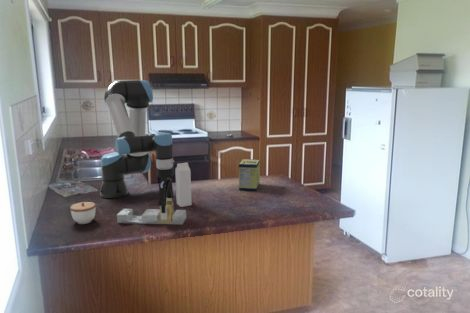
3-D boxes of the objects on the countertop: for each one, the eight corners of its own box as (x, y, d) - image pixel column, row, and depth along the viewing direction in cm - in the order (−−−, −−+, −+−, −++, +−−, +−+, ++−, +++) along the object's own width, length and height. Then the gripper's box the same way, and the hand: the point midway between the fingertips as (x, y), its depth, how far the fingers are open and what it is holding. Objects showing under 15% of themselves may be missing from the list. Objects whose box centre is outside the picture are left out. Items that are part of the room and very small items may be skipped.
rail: (117, 223, 173) (116, 214, 172) (123, 216, 180) (123, 208, 180) (182, 224, 170) (182, 216, 170) (186, 218, 178) (186, 209, 177)
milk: (191, 205, 196) (190, 163, 191) (180, 207, 193) (179, 165, 189) (187, 201, 201) (186, 161, 197) (176, 203, 198) (174, 162, 194)
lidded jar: (76, 217, 180) (74, 198, 178) (99, 216, 181) (97, 198, 179) (68, 226, 169) (66, 206, 167) (93, 225, 170) (91, 205, 168)
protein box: (259, 183, 234) (259, 159, 231) (256, 191, 219) (256, 165, 216) (242, 183, 236) (242, 158, 233) (238, 190, 221) (238, 164, 218)
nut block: (171, 221, 172) (170, 204, 171) (160, 221, 173) (159, 204, 171) (173, 217, 177) (173, 201, 175) (163, 217, 177) (162, 200, 176)
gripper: (167, 173, 159) (169, 224, 163) (178, 162, 180) (180, 207, 185) (149, 173, 159) (152, 224, 164) (163, 162, 181) (165, 207, 185)
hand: (167, 215), depth 174 cm, fingers open, 9 cm apart
